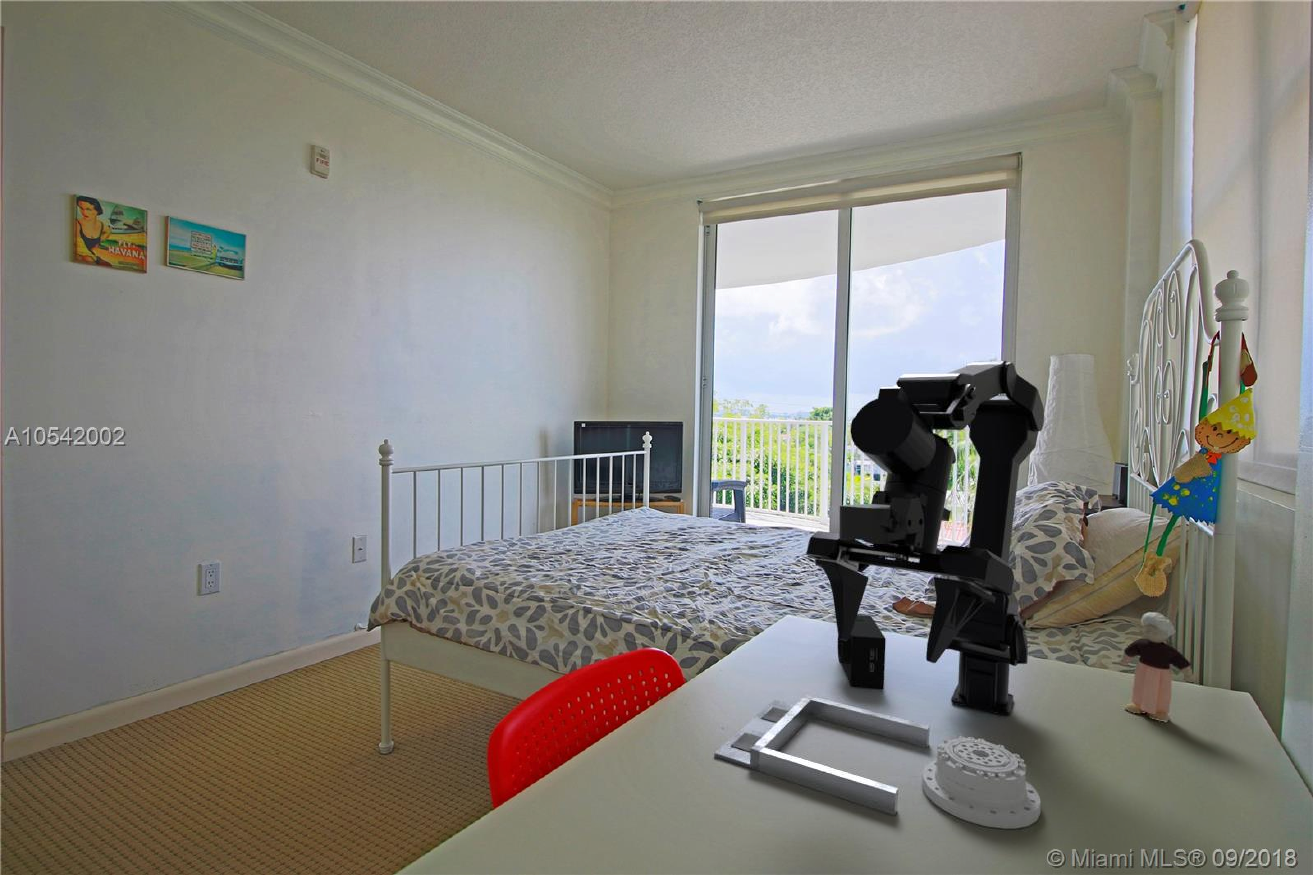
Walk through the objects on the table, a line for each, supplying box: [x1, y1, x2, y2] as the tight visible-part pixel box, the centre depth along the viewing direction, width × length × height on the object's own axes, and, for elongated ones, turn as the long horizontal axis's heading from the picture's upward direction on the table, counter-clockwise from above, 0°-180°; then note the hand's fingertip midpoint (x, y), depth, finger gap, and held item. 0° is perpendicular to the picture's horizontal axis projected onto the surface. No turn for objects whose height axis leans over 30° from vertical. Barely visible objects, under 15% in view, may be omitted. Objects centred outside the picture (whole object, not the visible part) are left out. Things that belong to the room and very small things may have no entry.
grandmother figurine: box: [1118, 611, 1196, 721], centre depth 82 cm, size 8×4×13 cm, turn 47°
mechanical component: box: [921, 736, 1041, 830], centre depth 63 cm, size 10×4×10 cm
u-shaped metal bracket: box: [713, 694, 930, 816], centre depth 71 cm, size 16×18×2 cm
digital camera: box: [837, 614, 887, 691], centre depth 93 cm, size 10×5×7 cm, turn 172°
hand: (884, 650), depth 62 cm, fingers open, 9 cm apart
